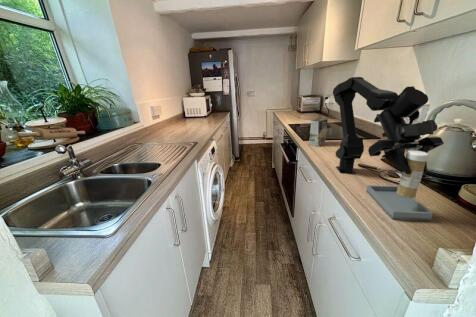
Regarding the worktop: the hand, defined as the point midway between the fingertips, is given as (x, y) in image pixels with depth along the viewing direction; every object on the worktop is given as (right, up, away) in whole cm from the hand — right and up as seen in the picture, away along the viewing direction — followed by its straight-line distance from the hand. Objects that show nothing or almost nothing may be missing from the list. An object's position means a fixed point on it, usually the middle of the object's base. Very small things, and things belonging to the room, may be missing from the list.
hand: (417, 173), depth 55 cm
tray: (+1, -11, +9) cm, 14 cm away
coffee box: (+2, +13, +74) cm, 75 cm away
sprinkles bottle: (0, -7, +4) cm, 8 cm away
